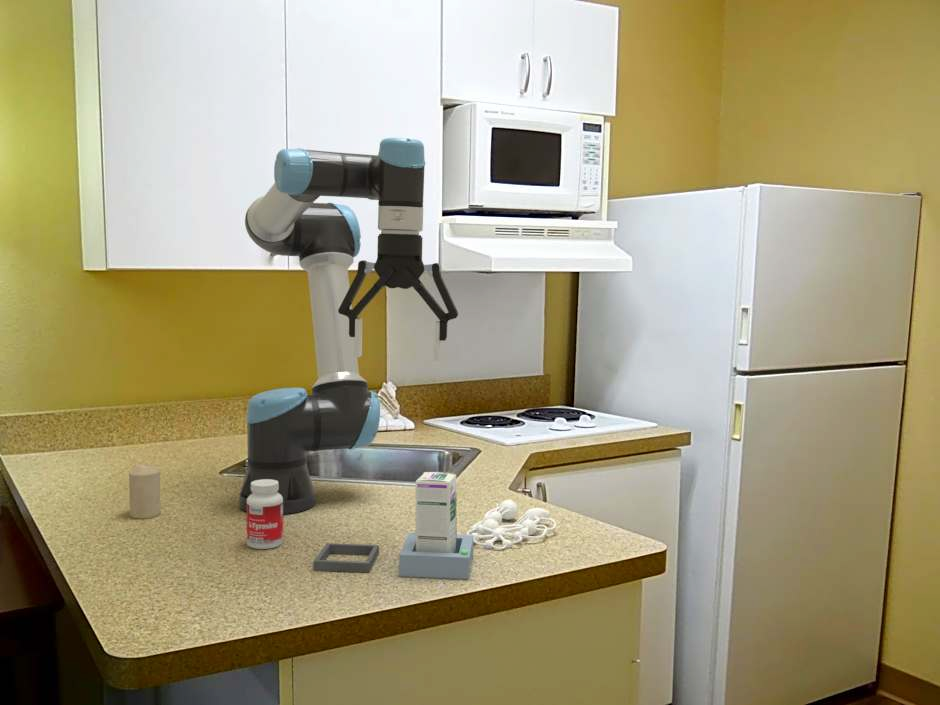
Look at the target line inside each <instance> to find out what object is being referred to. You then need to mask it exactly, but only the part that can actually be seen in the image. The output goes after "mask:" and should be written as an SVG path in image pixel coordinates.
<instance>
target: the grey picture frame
mask: <svg viewBox="0 0 940 705" xmlns="http://www.w3.org/2000/svg"><path fill="white" fill-rule="evenodd" d="M330 554H335V555H336V554H341V555H343V554H344V555H360V556H361V555H363V556H364V555H365V556H367V558H366V560H365V561H356V560H354V561H353V560H352V561H351V560H334V559H333V560H330V559H328V557H329V555H330ZM379 554H380V544H361V543H360V544H359V543H333V542H327V543H325V545H324V546H323V547H322V549H321V550H320V552H319V553H318V554H317V556H316V557H315V559H313V561H312V569H313V571H318V572H319V571H320V572H321V571H322V572H340V573H342V572H343V573H344V572H346V573H365V574H367V573H368V574H369V573H370V572H371V570H372V568H373V566H374V564H375V562H376V560H377V558H378V556H379Z"/></svg>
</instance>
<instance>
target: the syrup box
mask: <svg viewBox="0 0 940 705" xmlns="http://www.w3.org/2000/svg"><path fill="white" fill-rule="evenodd" d="M415 533H416V552H436V553H456V535H457V474H456V473H452V472H446V471H427V472H426V471H424V472H423V473H422V475H420V476H419V477H418V478H417V479H416V480H415Z"/></svg>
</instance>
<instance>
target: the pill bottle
mask: <svg viewBox="0 0 940 705" xmlns="http://www.w3.org/2000/svg"><path fill="white" fill-rule="evenodd" d="M278 490H279V484H278V481H276V480H272V479H262V480H255V481H253V482H251V491H252V492H253V493H252V494H251V495H249V497H248V498H247V512H246V545H247V546H248V547H249V548H252V549H256V550H269V549H270V550H271V549H276V548H277V547H279V546H281V545H282V544H283V542H284V514H283V497H282V496H281V495H280V494H279V493H277V491H278Z"/></svg>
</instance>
